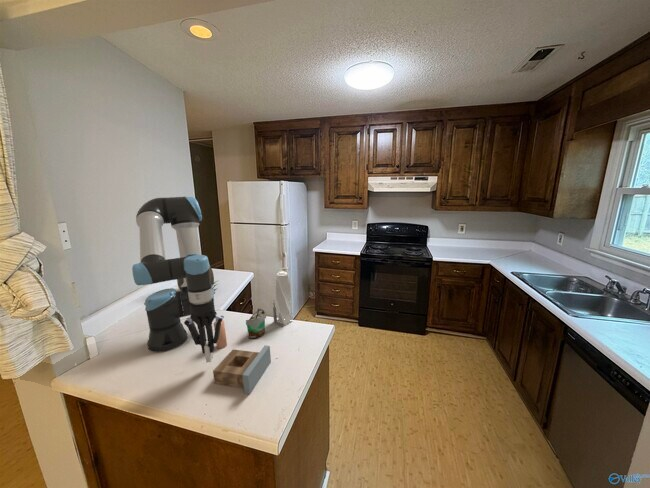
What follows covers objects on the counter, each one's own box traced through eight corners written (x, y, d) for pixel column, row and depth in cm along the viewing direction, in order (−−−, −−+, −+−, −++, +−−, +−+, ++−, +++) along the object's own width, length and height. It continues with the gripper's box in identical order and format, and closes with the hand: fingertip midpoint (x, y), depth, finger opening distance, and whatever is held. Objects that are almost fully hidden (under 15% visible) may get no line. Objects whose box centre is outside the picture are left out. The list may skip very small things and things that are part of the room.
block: (214, 383, 88) (212, 370, 87) (234, 361, 99) (232, 349, 98) (246, 388, 85) (245, 375, 84) (263, 364, 96) (262, 352, 95)
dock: (188, 387, 88) (185, 366, 86) (217, 357, 103) (215, 339, 102) (250, 397, 83) (248, 375, 81) (271, 364, 98) (269, 345, 96)
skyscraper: (285, 316, 136) (282, 265, 130) (296, 321, 131) (293, 268, 125) (273, 323, 130) (268, 269, 124) (283, 328, 125) (280, 272, 119)
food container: (260, 342, 113) (258, 321, 111) (247, 341, 114) (245, 320, 112) (271, 327, 125) (270, 308, 123) (259, 326, 126) (258, 307, 124)
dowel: (215, 350, 108) (211, 324, 105) (220, 345, 112) (217, 319, 109) (223, 351, 107) (220, 325, 105) (229, 346, 111) (226, 320, 108)
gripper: (176, 306, 85) (186, 368, 90) (217, 303, 86) (225, 365, 91) (186, 296, 92) (195, 354, 97) (224, 294, 93) (230, 351, 99)
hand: (209, 359), depth 94 cm, fingers closed
